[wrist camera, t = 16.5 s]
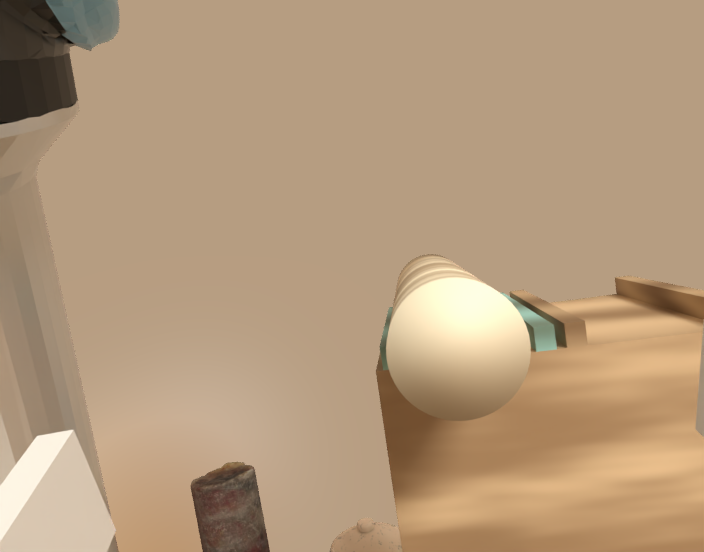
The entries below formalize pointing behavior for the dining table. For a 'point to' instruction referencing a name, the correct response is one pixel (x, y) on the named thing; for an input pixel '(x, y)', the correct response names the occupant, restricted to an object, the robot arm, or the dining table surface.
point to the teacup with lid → (368, 538)
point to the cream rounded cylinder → (454, 341)
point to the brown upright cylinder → (230, 510)
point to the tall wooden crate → (566, 436)
